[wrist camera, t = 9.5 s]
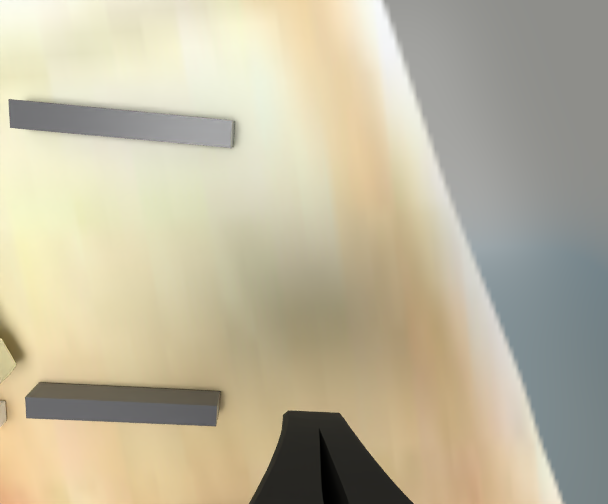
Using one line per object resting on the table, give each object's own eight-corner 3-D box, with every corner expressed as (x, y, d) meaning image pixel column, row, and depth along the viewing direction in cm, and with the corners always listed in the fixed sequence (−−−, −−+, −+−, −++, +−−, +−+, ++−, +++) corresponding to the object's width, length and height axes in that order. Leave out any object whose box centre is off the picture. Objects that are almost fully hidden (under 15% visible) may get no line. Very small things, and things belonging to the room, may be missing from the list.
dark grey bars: (219, 410, 22) (216, 426, 21) (40, 402, 21) (26, 418, 20) (234, 121, 19) (232, 120, 17) (25, 101, 18) (8, 99, 17)
